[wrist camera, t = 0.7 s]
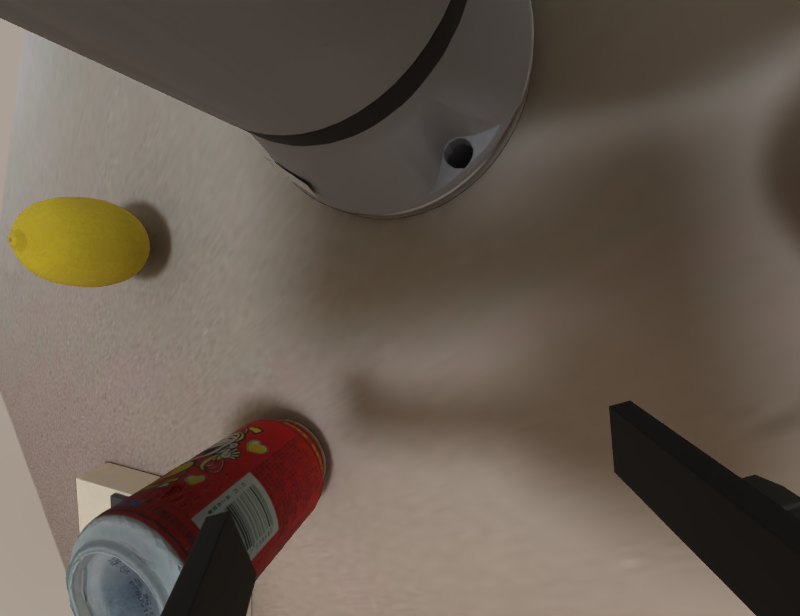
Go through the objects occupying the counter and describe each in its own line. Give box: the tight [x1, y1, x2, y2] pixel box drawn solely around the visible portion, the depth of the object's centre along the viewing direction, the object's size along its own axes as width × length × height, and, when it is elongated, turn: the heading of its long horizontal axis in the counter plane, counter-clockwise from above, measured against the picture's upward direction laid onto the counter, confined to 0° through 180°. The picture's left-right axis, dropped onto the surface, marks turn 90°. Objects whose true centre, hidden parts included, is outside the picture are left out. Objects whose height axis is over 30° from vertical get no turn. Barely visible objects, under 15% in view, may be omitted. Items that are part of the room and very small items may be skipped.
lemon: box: [8, 197, 150, 287], centre depth 24 cm, size 6×6×8 cm
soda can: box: [66, 420, 326, 616], centre depth 21 cm, size 7×7×12 cm
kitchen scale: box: [76, 463, 252, 616], centre depth 30 cm, size 16×14×3 cm
